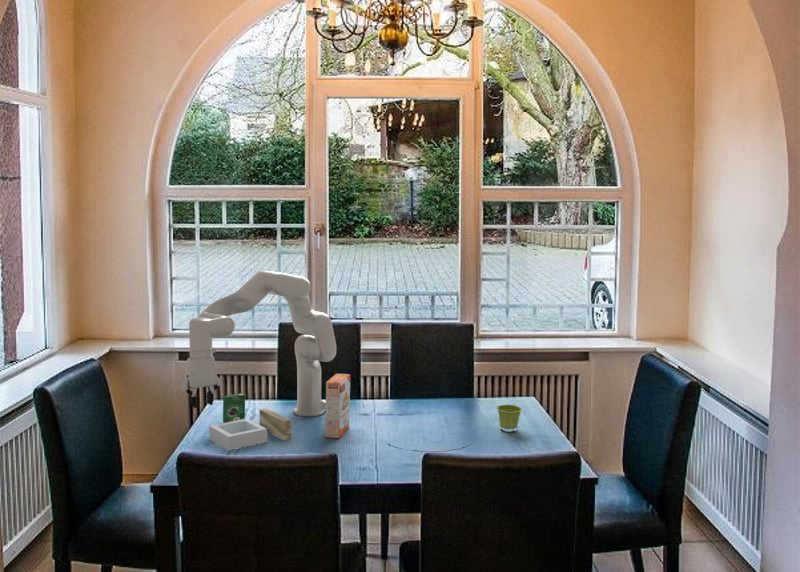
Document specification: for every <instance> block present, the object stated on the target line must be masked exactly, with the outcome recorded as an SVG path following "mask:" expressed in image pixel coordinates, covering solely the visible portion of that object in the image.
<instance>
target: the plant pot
mask: <svg viewBox="0 0 800 572" xmlns="http://www.w3.org/2000/svg"><path fill="white" fill-rule="evenodd" d="M496 410H497V412H498V417H499V418H498V419H499V428H500V427H502V428H504V429H514V428H517V429H518V424H519V421H520V415H521V412H522V411H523V408H522V407H520V406H518V405H513V404H499V405H498V406H497V407H496Z"/></svg>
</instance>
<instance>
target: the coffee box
mask: <svg viewBox="0 0 800 572" xmlns="http://www.w3.org/2000/svg"><path fill="white" fill-rule="evenodd" d="M222 397H223V398H222V405H223V406H222V423H226V422H231V421H237V420H242V419H246V394H245V393H243V392H242V393H241V392H240V393H237V394H236V393H235V394H228V395H223V396H222Z"/></svg>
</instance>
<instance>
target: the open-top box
mask: <svg viewBox="0 0 800 572" xmlns="http://www.w3.org/2000/svg"><path fill="white" fill-rule="evenodd" d="M208 428H209V429H208V430H209V431H208V432H209V433H208V435H209V436H208V437H209V438H208V439H209V440H210V441H211V442H213V443H215V444H217V445H218V446H219V447H221V448H223V449H225V450H226V451H228V452H229V451H233V450H232V449H235V450H237V449H236V448H239V449H241V448H240V447H244V448H247V447H246V446H249V447H252V445H253V446H257V445H256V444H258V445H261V443H262V444H266V443H265V442H267V443H268V432H267V429H266V428H264V427H262V426H261V425H260V423H256V422H255V421H253V420H251V419H249V418H245V419H242V420H237V421H231V422H226V423H223V422H222V423H217V424H211V425H208Z"/></svg>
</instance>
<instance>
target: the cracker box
mask: <svg viewBox="0 0 800 572" xmlns="http://www.w3.org/2000/svg"><path fill="white" fill-rule="evenodd" d="M350 394H351V374H348V373H335V374H334V375H333V376H332V377H330V378H329V379H328V380H327V381H326V382H325V401H326V405H325V417H324V418H325V419H324V420H325V421H324V423H325V426H324V428H325V429H324V435H325V436H324V437H325V438H326V439H327V438H329V439H337V438H338V439H341V437H342V436H343V435H344V434H345V433H346V431H347V430H348V429H350V413H351V412H350V410H351V409H350V407H351V405H350V404H351V403H350V402H351V401H350V400H351V397H350V396H351V395H350Z"/></svg>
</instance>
